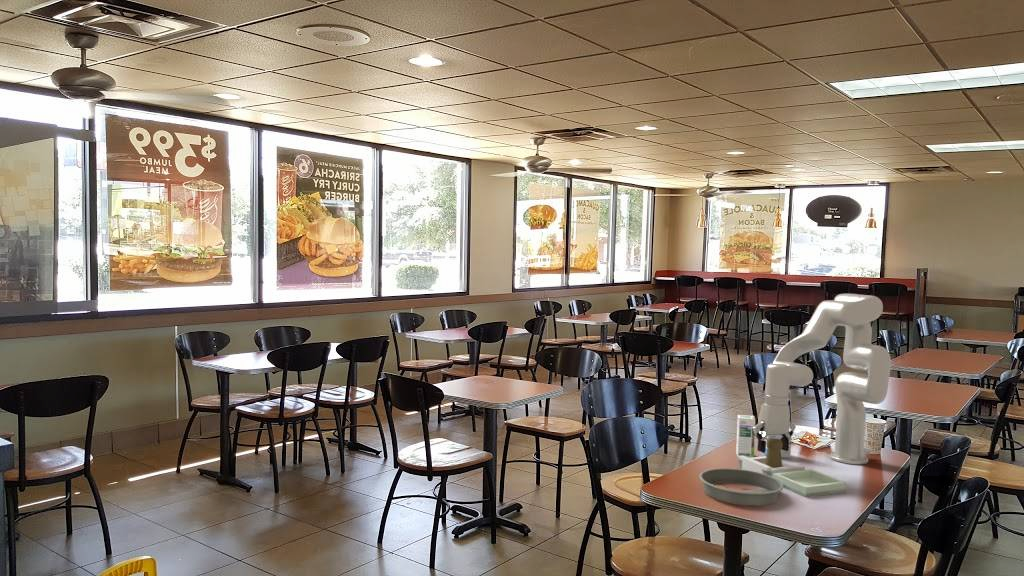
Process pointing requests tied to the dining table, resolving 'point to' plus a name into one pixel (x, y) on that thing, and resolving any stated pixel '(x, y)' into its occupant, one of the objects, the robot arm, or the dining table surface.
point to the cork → (774, 453)
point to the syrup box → (745, 436)
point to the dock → (764, 466)
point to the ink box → (783, 453)
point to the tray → (810, 483)
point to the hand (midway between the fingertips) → (772, 450)
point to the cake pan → (745, 477)
